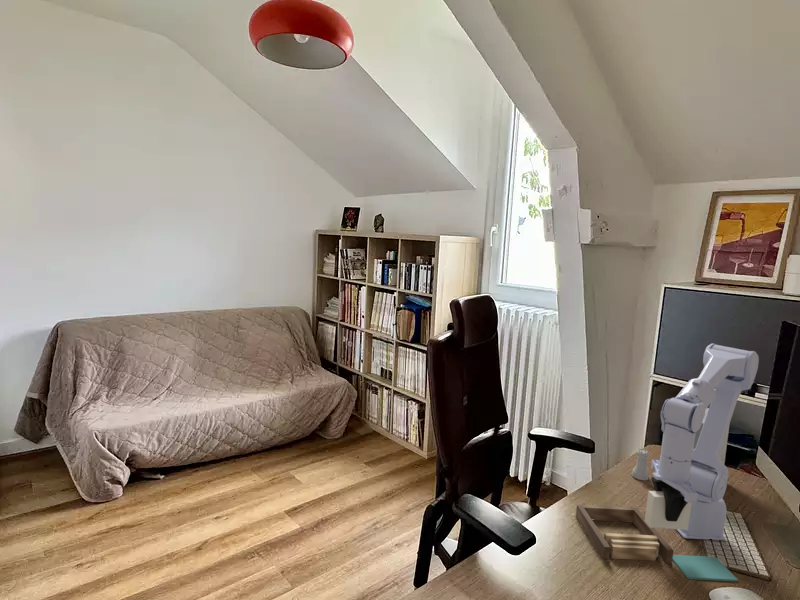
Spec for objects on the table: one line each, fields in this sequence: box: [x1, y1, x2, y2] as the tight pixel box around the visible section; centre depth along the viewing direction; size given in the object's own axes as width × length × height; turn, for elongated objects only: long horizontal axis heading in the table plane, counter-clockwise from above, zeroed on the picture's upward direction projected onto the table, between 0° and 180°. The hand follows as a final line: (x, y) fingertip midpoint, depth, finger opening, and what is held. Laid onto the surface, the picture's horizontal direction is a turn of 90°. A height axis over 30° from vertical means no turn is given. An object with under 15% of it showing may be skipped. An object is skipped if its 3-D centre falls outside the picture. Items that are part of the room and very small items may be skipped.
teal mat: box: [672, 554, 739, 583], centre depth 102 cm, size 10×7×1 cm
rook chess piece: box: [631, 448, 650, 482], centre depth 141 cm, size 4×4×8 cm
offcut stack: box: [603, 532, 659, 562], centre depth 105 cm, size 11×3×4 cm, turn 90°
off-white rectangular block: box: [644, 490, 692, 530], centre depth 106 cm, size 8×2×7 cm, turn 90°
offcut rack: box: [575, 504, 675, 565], centre depth 111 cm, size 14×16×3 cm
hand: (667, 516), depth 106 cm, fingers closed on off-white rectangular block, 2 cm apart
